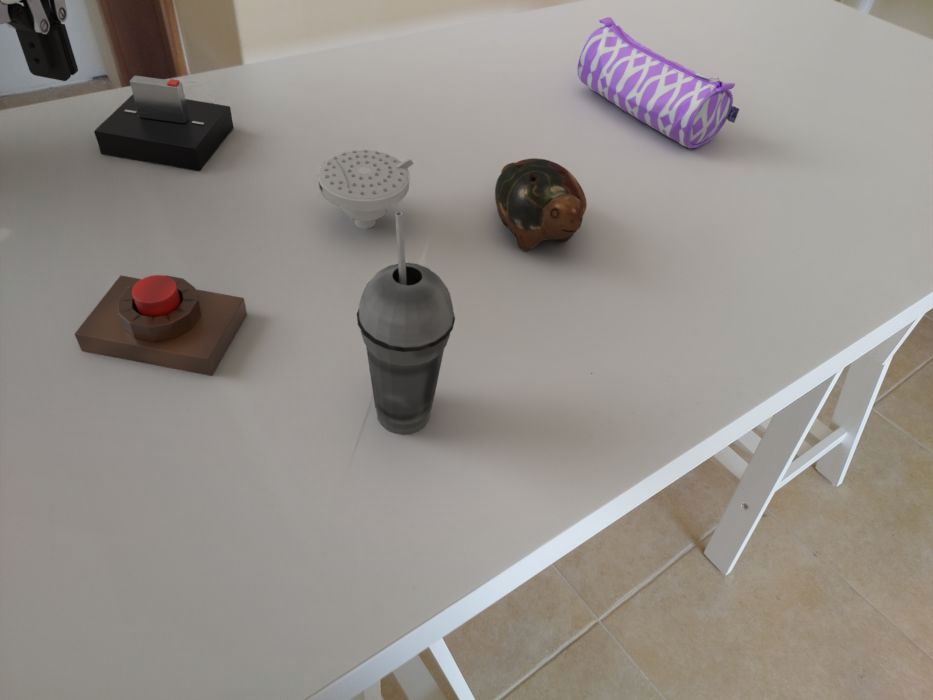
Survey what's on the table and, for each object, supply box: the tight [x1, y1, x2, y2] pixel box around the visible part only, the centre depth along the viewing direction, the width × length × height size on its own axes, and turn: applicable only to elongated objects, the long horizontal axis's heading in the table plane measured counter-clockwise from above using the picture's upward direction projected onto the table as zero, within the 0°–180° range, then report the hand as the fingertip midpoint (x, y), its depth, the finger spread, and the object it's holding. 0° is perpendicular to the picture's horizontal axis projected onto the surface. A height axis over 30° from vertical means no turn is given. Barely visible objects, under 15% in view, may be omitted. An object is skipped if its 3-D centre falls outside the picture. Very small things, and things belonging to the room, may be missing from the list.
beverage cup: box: [356, 211, 456, 435], centre depth 56 cm, size 7×7×20 cm
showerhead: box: [317, 149, 414, 230], centre depth 78 cm, size 9×7×10 cm
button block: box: [74, 275, 248, 377], centre depth 66 cm, size 12×8×4 cm, turn 80°
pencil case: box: [577, 16, 740, 149], centre depth 99 cm, size 22×9×10 cm, turn 42°
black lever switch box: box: [93, 94, 235, 172], centre depth 87 cm, size 12×10×3 cm
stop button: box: [132, 274, 180, 317], centre depth 64 cm, size 4×4×2 cm
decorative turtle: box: [494, 158, 588, 252], centre depth 80 cm, size 10×15×8 cm, turn 27°
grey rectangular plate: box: [129, 75, 189, 123], centre depth 85 cm, size 6×1×5 cm, turn 83°
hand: (55, 73), depth 60 cm, fingers closed
